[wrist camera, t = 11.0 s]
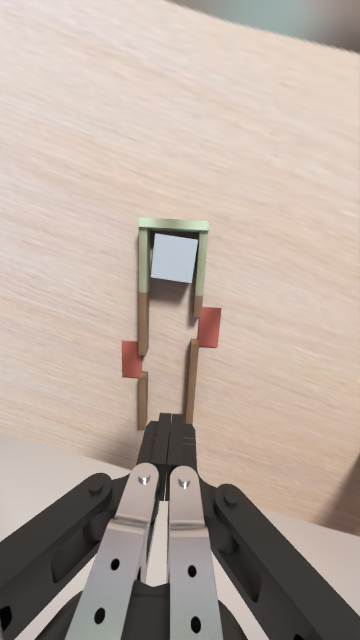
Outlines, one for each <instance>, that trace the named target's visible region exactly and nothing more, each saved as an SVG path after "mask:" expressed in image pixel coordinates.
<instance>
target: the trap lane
mask: <svg viewBox="0 0 360 640" xmlns="http://www.w3.org/2000/svg"><path fill="white" fill-rule="evenodd" d="M209 222H210V221H196V220H177V219H159V218H141V217H138V227H139V342H133V341H122V372H123V377H134V378H139V380H138V430H145V426H146V422H147V402H148V372H143V371H142V355H146V353H147V351H148V342H149V282H150V230H152V231H170V232H188V233H199V239H198V253H197V267H196V281H195V294H194V308H193V316H194V318H200V319H199V331H198V339H191V349H190V363H189V377H188V391H187V405H186V418H185V423H186V424H192V422H193V410H194V398H195V386H196V374H197V362H198V350H199V346H204V347H217V345H218V336H219V326H220V317H221V308H210V307H202V302H203V290H204V278H205V266H206V254H207V242H208V231H209Z"/></svg>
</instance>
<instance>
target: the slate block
mask: <svg viewBox="0 0 360 640" xmlns="http://www.w3.org/2000/svg"><path fill="white" fill-rule="evenodd" d="M197 244H198V240H196V239H189V238H183V237H176V236H169V235H162V234H156V233H155V241H154V250H153V260H152V269H151V277H153V278H160V279H166V280H173V281H180V282H187V283H192V277H193V270H194V264H195V257H196V251H197Z"/></svg>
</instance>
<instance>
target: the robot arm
mask: <svg viewBox="0 0 360 640" xmlns="http://www.w3.org/2000/svg"><path fill="white" fill-rule="evenodd" d="M183 419H184V414H172V422H171V413H160V416H159V421H150V423H149V424H148V425H147V426H146V429H145V432H144V436H143V441H142V444H141V448H140V452H139V456H138V460H137V464H136V466H135V467H134V468H133V469H132V471H131V473H129V474H128V475H126V476H124V477H122V478H118V479H114V480H111V478H110V476H108V475H107V474H104V473H96V474H93V475H91V476H90V477H88V478H87V479H85V480H84V481H83V482H81V483H80V484H79V485H77V486H76V487H75V488H73V489H72V490H71V491H69V492H68V493H66V494H65V495H64V496H62V497H61V498H60V499H58V500H57V501H55V502H54V503H53V504H51V505H50V506H49V507H47V508H46V509H45V510H43V511H42V512H41V513H39V514H38V515H37V516H35V517H34V518H32V519H31V520H30V521H28V522H27V523H26V524H24V525H23V526H21V527H20V528H19V529H17V530H16V531H15V532H13V533H12V534H11V535H9V536H8V537H6V538H5V539H4V540H3V541H1V542H0V640H14V639H15V638H16V637H17V636H18V635H19V634H20V633H21V632H22V631H23V630H24V629H25V628H26V627H27V626H28V625H29V624H30V622H31V621H32V620H33V619H34V618H35V617H36V616H37V615H38V614H39V613H40V612H41V611H42V610H43V609H44V608H45V607H46V606H47V605H48V604H49V603H50V602H51V600H52V599H53V598H54V597H55V596H56V595H57V594H58V593H59V592H60V591H61V590H62V589H63V588H64V587H65V586H66V585H67V584H68V583H69V582H70V581H71V580H72V578H74V577H75V576H76V574H77V573H78V572H79V571H80V570H81V569H82V568H83V567H84V566H85V565H86V564H87V563H88V562H89V561H90V560H91V559H92V558H93V557H94V555H95V554H97V555H96V557H95V560H94V563H93V565H92V568H91V571H90V574H89V576H88V579H87V582H86V584H85V587H84V590H82V591H81V592H79V593H78V594H76V595H75V596H74V597H73V598H72V599H70V600H69V601H68V602H67V603H66V604H65V605H64V606H63V607H62V608H61V610H60V611H59V612H58V613H57V614H56V615H55V616H54V618H53V619H52V620H51V621H50V622H49V623H48V625H47V626H46V627H45V628H44V629H43V630H42V632H41V633H40V634H39V635H38V636H37V637H36V639H35V640H248V639H247V637H246V636H245V634H244V632H243V630H242V628H241V627H240V625H239V624H238V622H237V620H236V619H235V617H234V616H233V615H232V613H231V612H230V611H229V610H228V609H227V607H226V606H225V605H224V604H223V603H222V602H221V601H219V600H218V598H217V591H216V584H215V576H214V569H213V562H212V554H211V550H212V552H213V554H214V555H215V557H216V559H217V560H218V562H219V563H220V564H221V566H222V568H223V569H224V571H225V572H226V574H227V575H228V577H229V578H230V580H231V582H232V583H233V584H234V586H235V588H236V589H237V591H238V592H239V594H240V595H241V597H242V598H243V600H244V601H245V603H246V604H247V606H248V608H249V609H250V611H251V612H252V614H253V615H254V616H255V618H256V620H257V621H258V623H259V624H260V626H261V627H262V629H263V630H264V632H265V634H266V635H267V637H268V638H269V640H360V616H359V615H358V614H357V613H356V612H355V611H354V610H353V609H352V608H351V607H350V606H349V605H348V604H347V603H346V602H345V600H344V599H343V598H342V597H341V596H340V595H339V594H338V593H337V592H336V591H335V590H334V589H333V588H332V587H331V586H330V585H329V584H328V582H327V581H326V580H325V579H324V578H323V577H322V576H321V575H320V574H319V573H318V572H317V571H316V570H315V569H314V568H313V567H312V566H311V564H310V563H309V562H308V561H307V560H306V559H305V558H304V557H303V556H302V555H301V554H300V553H299V552H298V551H297V550H296V549H295V548H294V546H293V545H292V544H291V543H290V542H289V541H288V540H287V539H286V538H285V537H284V536H283V535H282V534H281V533H280V532H279V531H278V530H277V528H276V527H275V526H273V524H272V523H271V522H270V521H269V520H268V519H267V518H266V517H265V516H264V515H263V514H262V513H261V511H260V510H259V509H258V508H257V507H256V506H255V505H254V504H253V503H252V502H251V501H250V500H249V499H248V498H247V497H246V496H245V494H244V493H243V492H242V491H241V490H240V489H239V488H237V487H236V486H234V485H232V484H222V485H220V486H219V487H218V488H216V487H213V486H211V485H209V484H207V483H206V482H204V481H203V480H202V479H201V478H200V476H199V474H198V471H197V460H196V439H195V429H194V427H193V426H192V424H186V423H183ZM170 431H171V432H170ZM166 474H167V476H166ZM165 484H166V494H165ZM164 494H165V501H169V503H168V519H167V578H166V579H167V580H166V584H163V585H160V586H156V587H151V586H149V585H146V584H145V583H146V574H147V568H148V562H149V557H150V552H151V546H152V541H153V536H154V530H155V525H156V519H157V514H158V509H159V501H164Z"/></svg>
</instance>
